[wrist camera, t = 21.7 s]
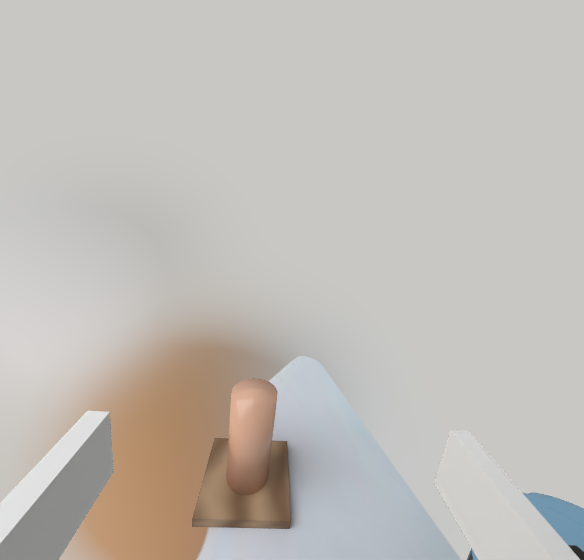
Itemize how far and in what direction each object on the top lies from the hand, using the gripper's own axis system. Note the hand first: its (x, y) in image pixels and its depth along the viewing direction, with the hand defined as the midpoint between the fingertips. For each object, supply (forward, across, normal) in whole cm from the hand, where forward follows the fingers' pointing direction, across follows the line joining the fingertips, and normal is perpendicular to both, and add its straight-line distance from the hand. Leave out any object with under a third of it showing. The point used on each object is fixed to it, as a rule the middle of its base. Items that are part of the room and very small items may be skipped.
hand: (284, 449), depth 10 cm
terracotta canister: (+28, -2, -34) cm, 44 cm away
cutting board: (+28, -2, -36) cm, 45 cm away
